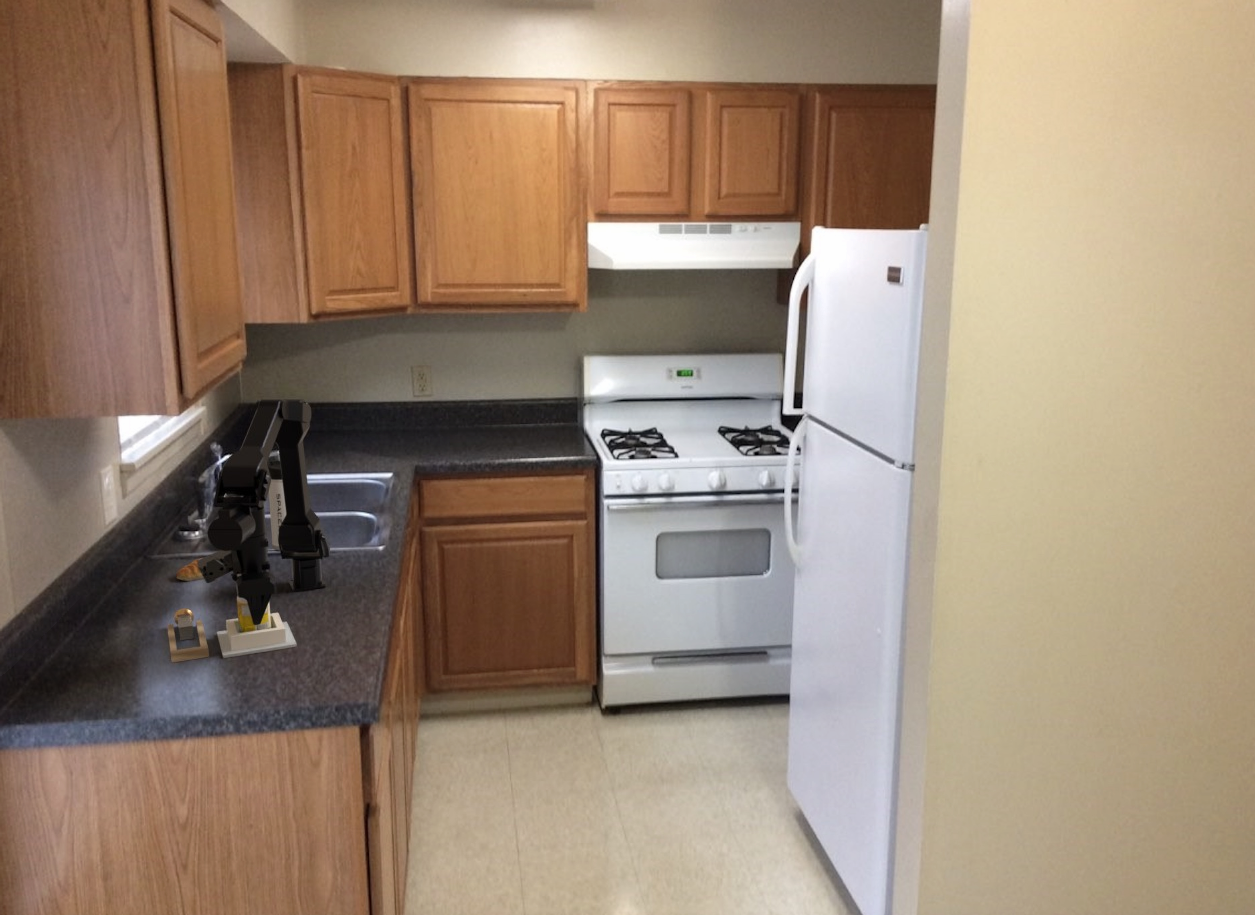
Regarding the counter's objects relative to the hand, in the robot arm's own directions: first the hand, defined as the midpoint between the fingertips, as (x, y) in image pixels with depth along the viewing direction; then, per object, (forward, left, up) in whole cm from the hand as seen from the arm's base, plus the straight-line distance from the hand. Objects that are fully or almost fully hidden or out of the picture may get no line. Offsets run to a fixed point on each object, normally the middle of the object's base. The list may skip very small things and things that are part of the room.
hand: (255, 619), depth 181 cm
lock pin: (-9, -11, -4) cm, 15 cm away
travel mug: (-57, +13, -4) cm, 59 cm away
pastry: (-43, -6, -4) cm, 44 cm away
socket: (0, 0, -4) cm, 4 cm away
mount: (-4, -11, -4) cm, 12 cm away
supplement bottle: (0, 0, -3) cm, 3 cm away
